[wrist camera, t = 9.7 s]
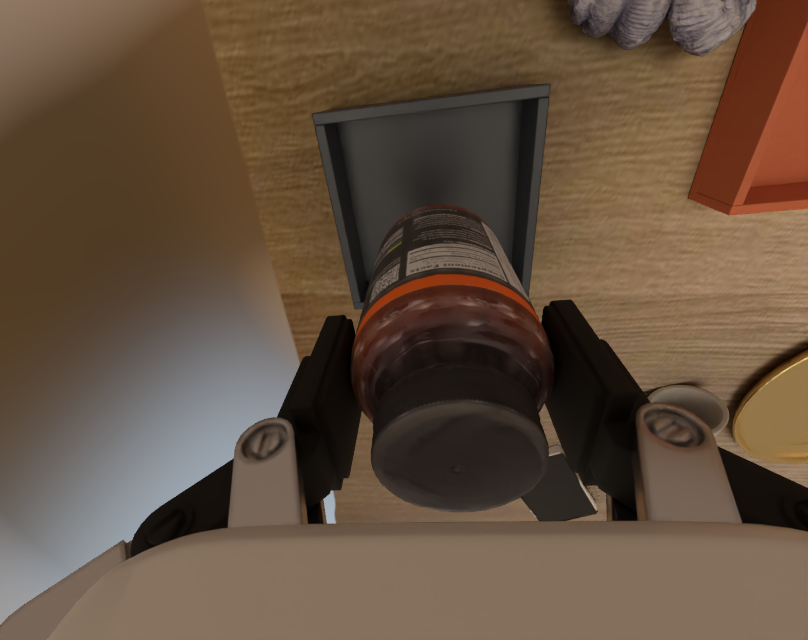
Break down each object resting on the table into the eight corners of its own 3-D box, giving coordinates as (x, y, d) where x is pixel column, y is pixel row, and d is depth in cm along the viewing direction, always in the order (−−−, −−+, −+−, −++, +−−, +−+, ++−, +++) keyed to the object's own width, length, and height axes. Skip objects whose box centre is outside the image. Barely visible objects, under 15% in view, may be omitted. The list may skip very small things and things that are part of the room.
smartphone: (563, 451, 40) (600, 513, 47) (560, 442, 41) (596, 504, 48) (498, 470, 43) (542, 526, 49) (496, 462, 44) (539, 518, 50)
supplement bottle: (471, 323, 19) (518, 552, 10) (366, 295, 18) (307, 512, 9) (522, 221, 16) (665, 416, 6) (396, 181, 15) (352, 336, 6)
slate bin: (327, 110, 23) (311, 113, 20) (531, 84, 22) (551, 83, 18) (362, 285, 30) (354, 309, 27) (516, 273, 29) (528, 297, 26)
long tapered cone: (713, 518, 41) (744, 432, 30) (650, 519, 43) (658, 439, 32) (689, 470, 45) (709, 380, 34) (633, 473, 47) (634, 389, 36)
